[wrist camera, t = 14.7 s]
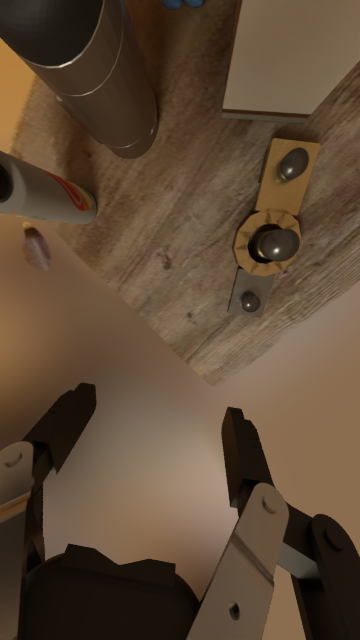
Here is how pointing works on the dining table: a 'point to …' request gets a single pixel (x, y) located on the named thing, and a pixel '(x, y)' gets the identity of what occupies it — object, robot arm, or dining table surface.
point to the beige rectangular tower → (288, 56)
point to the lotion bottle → (42, 194)
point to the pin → (275, 244)
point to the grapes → (175, 0)
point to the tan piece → (271, 219)
